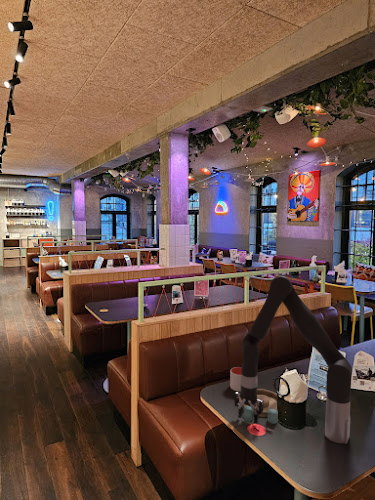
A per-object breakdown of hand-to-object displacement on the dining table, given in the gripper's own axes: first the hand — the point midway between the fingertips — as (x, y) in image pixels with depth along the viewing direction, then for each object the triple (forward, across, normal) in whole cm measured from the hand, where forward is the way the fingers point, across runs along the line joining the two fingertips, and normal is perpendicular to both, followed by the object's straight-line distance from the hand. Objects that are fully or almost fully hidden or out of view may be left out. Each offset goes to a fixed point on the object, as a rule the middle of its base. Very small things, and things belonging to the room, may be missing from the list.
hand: (248, 418), depth 159 cm
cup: (+1, +16, -24) cm, 29 cm away
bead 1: (+1, 0, 0) cm, 1 cm away
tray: (+1, 0, -15) cm, 15 cm away
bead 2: (+1, -10, -4) cm, 11 cm away
